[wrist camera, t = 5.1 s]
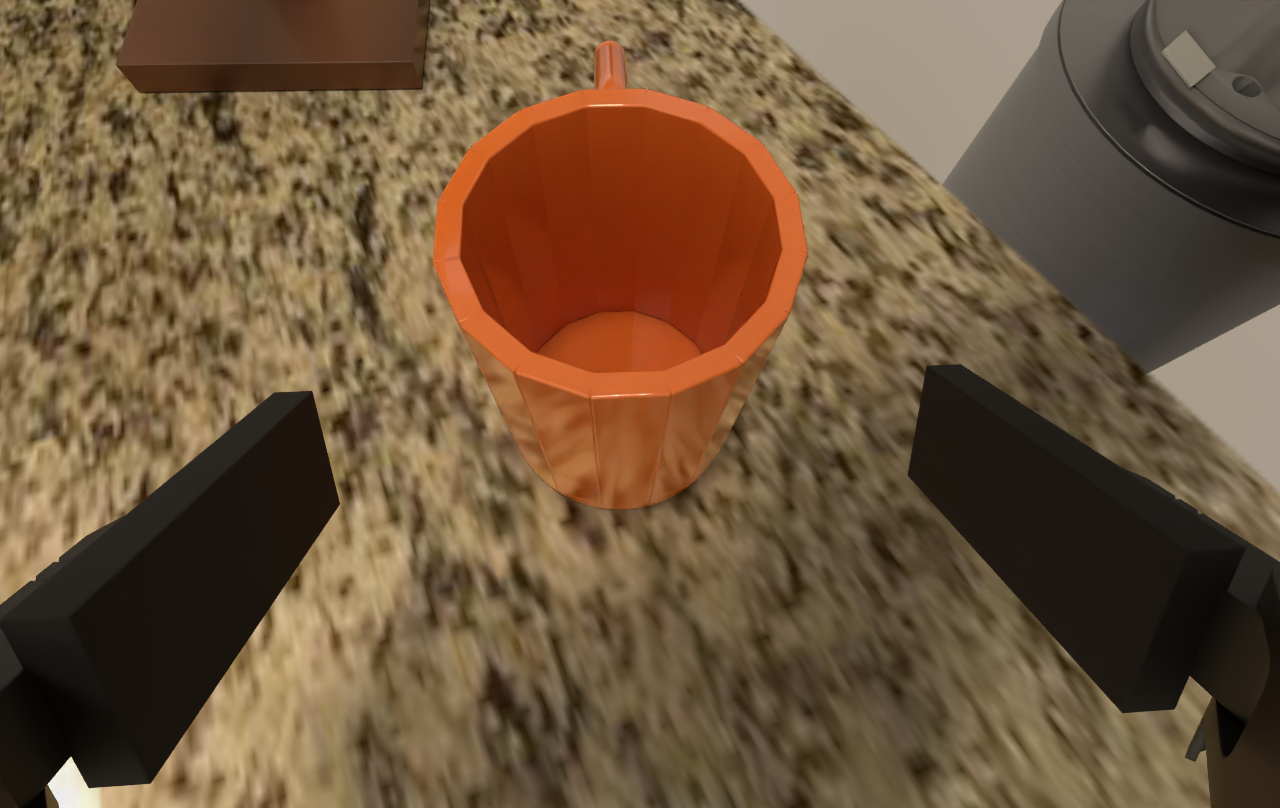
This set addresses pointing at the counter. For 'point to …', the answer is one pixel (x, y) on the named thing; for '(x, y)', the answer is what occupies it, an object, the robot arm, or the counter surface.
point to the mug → (619, 281)
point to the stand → (275, 45)
